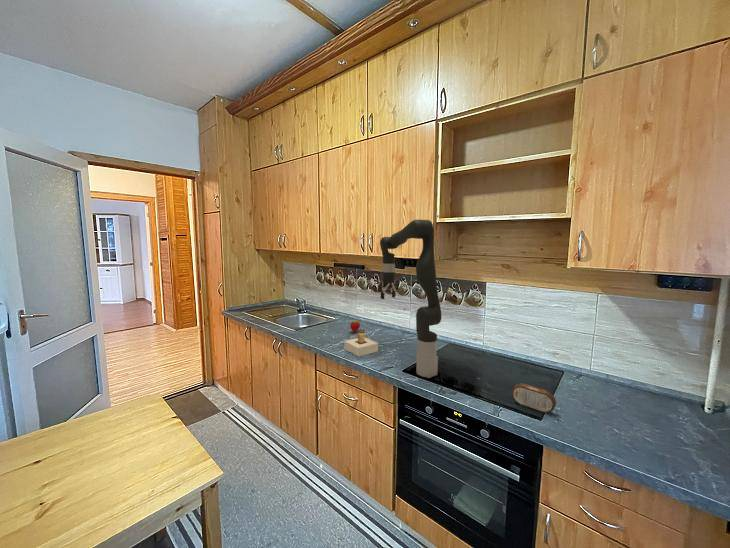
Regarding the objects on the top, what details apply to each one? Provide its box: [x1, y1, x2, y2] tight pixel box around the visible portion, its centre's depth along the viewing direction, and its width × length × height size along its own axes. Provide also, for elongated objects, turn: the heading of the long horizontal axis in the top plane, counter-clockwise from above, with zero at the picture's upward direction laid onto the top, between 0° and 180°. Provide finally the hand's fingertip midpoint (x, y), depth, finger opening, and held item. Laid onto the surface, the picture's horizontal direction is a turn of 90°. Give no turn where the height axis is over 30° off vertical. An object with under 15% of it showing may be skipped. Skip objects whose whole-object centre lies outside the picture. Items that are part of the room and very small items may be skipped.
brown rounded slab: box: [511, 383, 557, 414], centre depth 117 cm, size 15×3×8 cm, turn 48°
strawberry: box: [349, 320, 361, 333], centre depth 208 cm, size 6×8×10 cm
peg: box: [357, 328, 366, 344], centre depth 176 cm, size 4×4×12 cm
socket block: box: [344, 337, 379, 358], centre depth 176 cm, size 14×14×5 cm
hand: (388, 298), depth 178 cm, fingers open, 8 cm apart
